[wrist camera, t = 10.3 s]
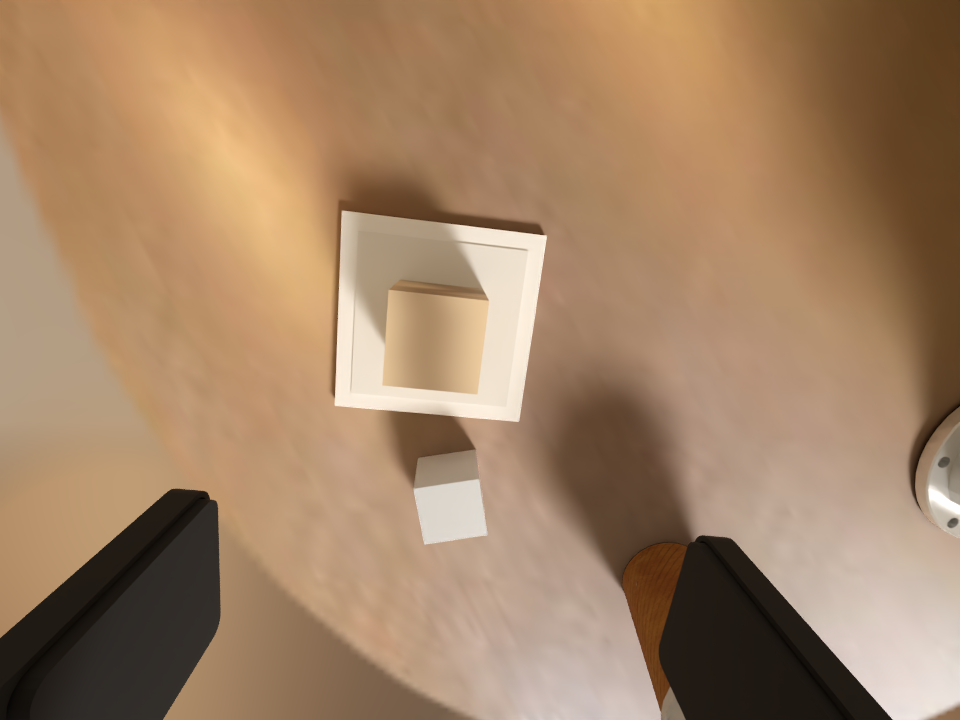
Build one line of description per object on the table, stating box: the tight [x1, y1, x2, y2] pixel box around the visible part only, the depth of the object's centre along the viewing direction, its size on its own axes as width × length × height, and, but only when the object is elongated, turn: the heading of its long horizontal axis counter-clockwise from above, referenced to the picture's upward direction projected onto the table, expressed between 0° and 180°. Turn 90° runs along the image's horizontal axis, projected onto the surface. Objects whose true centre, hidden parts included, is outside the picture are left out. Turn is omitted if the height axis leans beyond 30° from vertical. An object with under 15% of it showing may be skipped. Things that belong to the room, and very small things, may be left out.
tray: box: [335, 211, 547, 422], centre depth 28 cm, size 12×12×1 cm
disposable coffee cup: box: [622, 543, 687, 720], centre depth 29 cm, size 10×10×12 cm
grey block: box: [413, 449, 487, 545], centre depth 30 cm, size 4×4×4 cm
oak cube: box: [382, 280, 489, 394], centre depth 26 cm, size 5×5×5 cm
